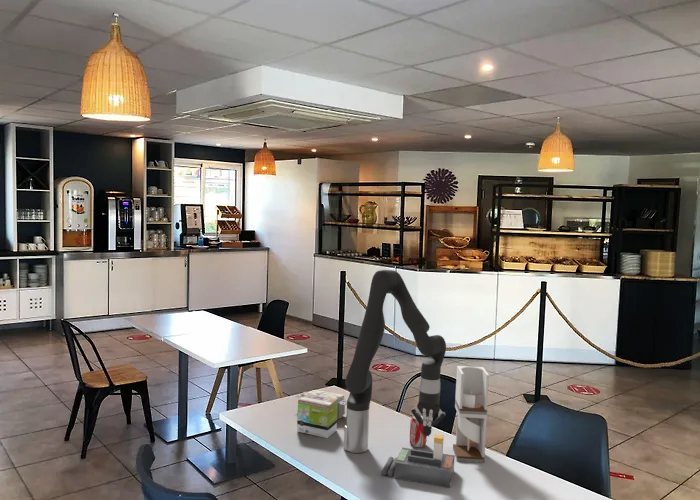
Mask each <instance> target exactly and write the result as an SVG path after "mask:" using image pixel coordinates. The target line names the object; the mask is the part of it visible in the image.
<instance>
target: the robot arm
mask: <svg viewBox="0 0 700 500" xmlns="http://www.w3.org/2000/svg"><path fill="white" fill-rule="evenodd" d="M387 294H391V296H393V297H394V298H395V300H396V301H397V303H398V305H399V308H400V312H401V317H402V319H403V321H404V323H405V324H406V326H407V328H408V329H409V330H410V332H411V333H412V336H413V338H414V341H415V344H416V347H417V349H418V351H419V353H420V354H421V355H423V356H425V357H427V359H426V360H424V361H423V362H422V363H421V370H420V381H419V387H418V389H419V391H418V402H417V404H416V406H415V407H412V408H411V414H412V416H413V415H414V416H415V418H416V419H417V421H418V423H419V424H422V425H423V434H425V436H427V437H430V436H431V434H432V427H436V426H437V425H438V424H439V423H440V422H441V421H442V420H443V419H444V418H445V416H446V414H447V413H446V412H445V411H442V409H441V405H440V396H441V373H442V372H441V368H442V365H443V361H444V359H445V356H446V351H447V345H446V344H447V343H446V339H445V338H444V337H443V336H441V335H440V334H435V335H429V334H428V331H429V330H430V329H431V328H430V327H431V326H430V324H429V322H428V321H427V319H426V318H425V317H424V315H423V314H422V313H421V311H420V309H419V308H418V307H417V305H416V303H415V302H414V299H413V298H412V296H411V294H410V292H409V290H408V288H407V285H406V283H405V281H404V279H403V278H402V276H401V274H400V273H399V272H398V271H397V270H392V269H379V270H376V272H375V273H374V274H373V276H372V279H371V283H370V289H369V296H368V300H367V304H366V308H365V312H364V316H363V320H362V323H361V325H360V330H359V332H358V333H359V334H358V338H357V342H356V346H355V350H354V356H353V358H352V361H351V364H350V366H349V368H348V369H349V370H348V371H347V374H346V377H345V386H346V390H348V392H349V394H348V398H347V399H346V400H347V403H346V419H345V422H346V423H345V425H344V429H343V430H344V433H343V450H344V451H347V452H349V453H353V454H361V453H365V452H367V451H368V449H369V432H370V431H369V429H370V427H369V426H370V406H371V405H370V404H371V402H372V401H371V400H372V394H373V393H372V392H373V375H372V372H371V371H370V367H371V363H372V361H373V360H374V357H375V355H376V353H377V352H378V350H379V347H380V345H381V344H382V343H381V342H382V340H383V336H384V334H385V333H384V332H385V329H386V321H385V315H384V304H385V301H386V296H387ZM420 415H422V416H423V419H422V418H421V416H420ZM437 415H438V416H437ZM435 416H437V418H435V419H434V420H433V418H434V417H435Z"/></svg>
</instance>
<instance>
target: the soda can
mask: <svg viewBox="0 0 700 500" xmlns="http://www.w3.org/2000/svg"><path fill="white" fill-rule="evenodd" d="M419 415H420V416H421V418H422V419H423V416H422V414H419ZM409 424H410V425H409V445H412V447H415V448H423V447H424V446H426V445H427V439H428V438H427V437H428V436H425V434H423V425H422V424H419V423H418V421H417V419H416V418H415V416H414V415H413V414H412V415H411V419H410V423H409Z"/></svg>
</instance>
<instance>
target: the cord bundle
mask: <svg viewBox="0 0 700 500" xmlns="http://www.w3.org/2000/svg"><path fill="white" fill-rule="evenodd" d="M397 458H398V457H395V458H394V457H393V456H389V457H388V459H387V461H386V462H385V464H384V467H383V468H382V470H381V475H382V476H388V477H392V476H393V475H394V474H395V462H396V460H397Z"/></svg>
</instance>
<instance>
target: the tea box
mask: <svg viewBox="0 0 700 500" xmlns="http://www.w3.org/2000/svg"><path fill="white" fill-rule="evenodd" d="M337 408H338V399H335V398H329V397H324V396H319V395H313V394H307V395H305V396H304V397H300V398H299V399H298V400H297V417H296V418H297V421H296V422H297V424H296V432H297V433H303V434H308V435H311V436H316V437H321V438H324V439H328V438H330V437H331V436H332V435H333V434H334V433H335V432H336V431H337V425H338V419H337Z"/></svg>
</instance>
